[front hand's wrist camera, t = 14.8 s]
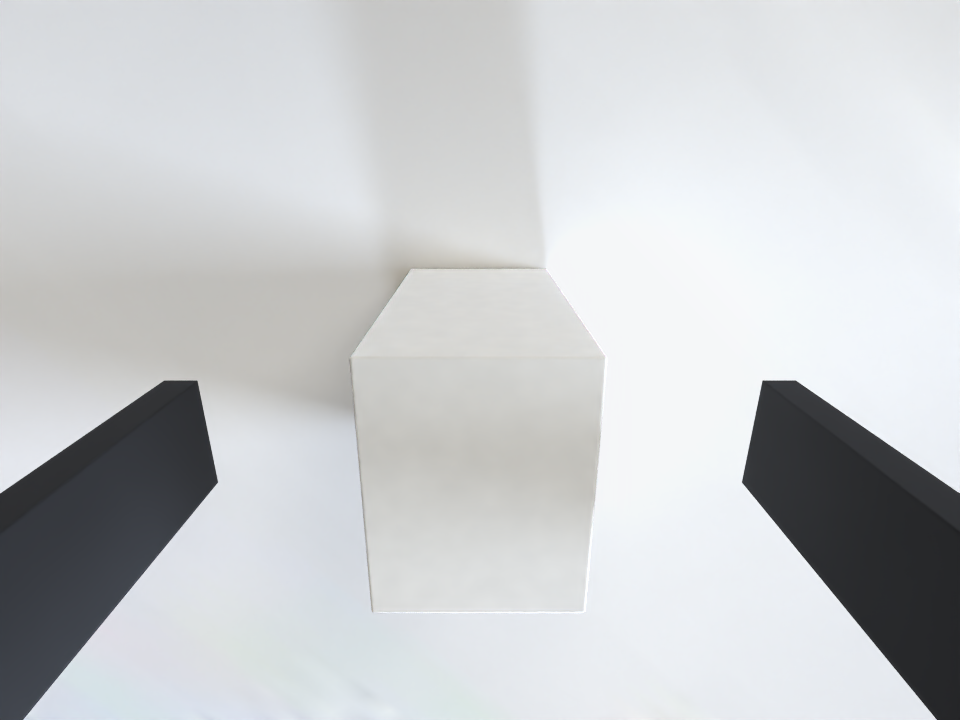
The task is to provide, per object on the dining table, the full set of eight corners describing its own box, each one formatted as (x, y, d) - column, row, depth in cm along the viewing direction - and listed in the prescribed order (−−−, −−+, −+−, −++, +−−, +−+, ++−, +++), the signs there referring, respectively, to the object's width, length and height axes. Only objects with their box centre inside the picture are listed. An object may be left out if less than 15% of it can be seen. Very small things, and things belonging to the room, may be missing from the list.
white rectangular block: (417, 424, 20) (371, 614, 11) (410, 268, 18) (348, 356, 9) (540, 424, 20) (585, 614, 11) (547, 268, 18) (608, 357, 9)
